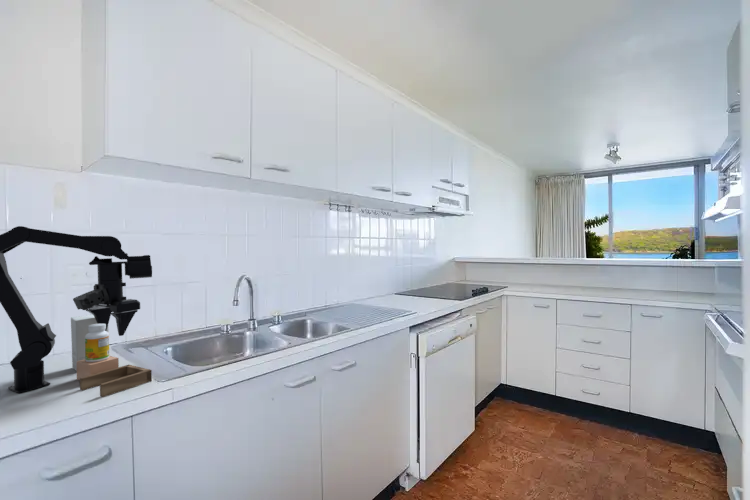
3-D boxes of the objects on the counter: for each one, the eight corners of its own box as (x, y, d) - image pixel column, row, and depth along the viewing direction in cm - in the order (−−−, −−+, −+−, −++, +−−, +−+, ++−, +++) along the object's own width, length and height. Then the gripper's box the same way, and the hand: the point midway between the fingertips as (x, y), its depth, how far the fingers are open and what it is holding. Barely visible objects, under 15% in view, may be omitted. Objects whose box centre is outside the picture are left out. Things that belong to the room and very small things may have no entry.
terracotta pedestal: (76, 379, 102) (76, 361, 102) (104, 371, 108) (104, 354, 108) (90, 383, 99) (90, 365, 99) (118, 375, 105) (118, 357, 105)
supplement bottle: (80, 361, 102) (80, 326, 102) (101, 355, 107) (100, 322, 107) (93, 363, 100) (92, 327, 100) (113, 357, 105) (113, 323, 105)
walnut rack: (80, 389, 95) (79, 378, 95) (128, 375, 105) (128, 364, 105) (102, 397, 90) (102, 384, 90) (151, 380, 101) (151, 369, 101)
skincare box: (104, 361, 118) (103, 312, 118) (110, 365, 114) (110, 315, 113) (70, 368, 111) (69, 316, 111) (76, 373, 107) (75, 319, 107)
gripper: (60, 281, 103) (62, 337, 104) (96, 284, 95) (98, 344, 95) (104, 277, 113) (106, 328, 114) (140, 279, 105) (142, 334, 105)
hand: (112, 333), depth 106 cm, fingers open, 9 cm apart
